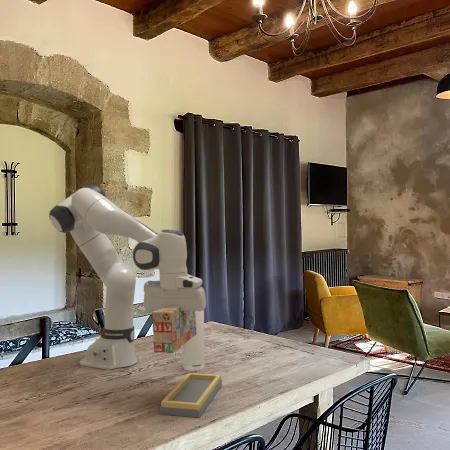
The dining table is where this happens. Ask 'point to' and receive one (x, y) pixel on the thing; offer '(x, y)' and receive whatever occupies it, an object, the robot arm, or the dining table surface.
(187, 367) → the bottle
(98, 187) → the robot arm
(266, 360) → the dining table surface
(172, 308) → the stack of blocks
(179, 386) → the yellow and grey tray
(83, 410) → the dining table surface
